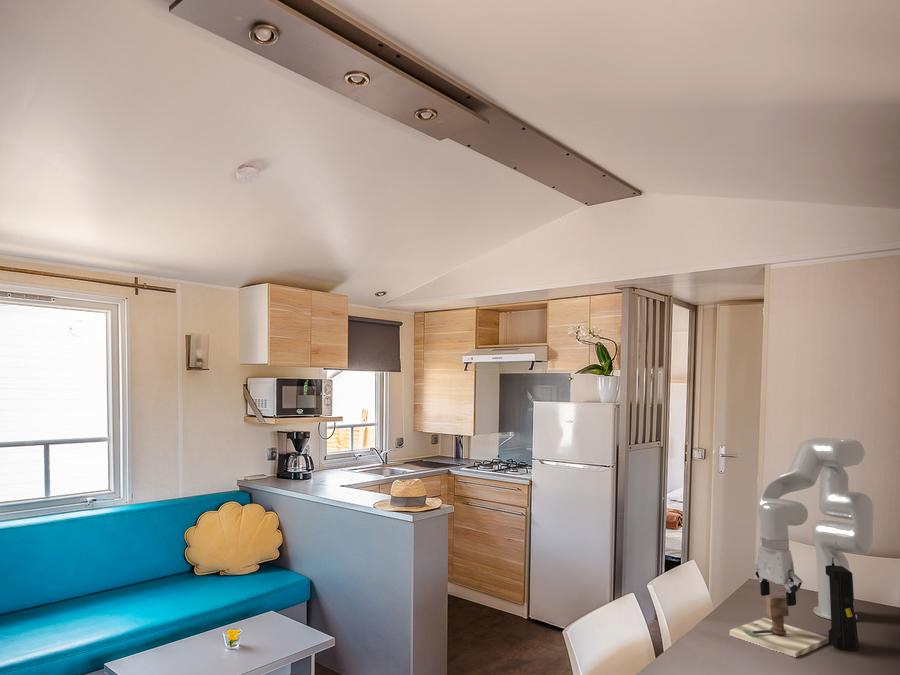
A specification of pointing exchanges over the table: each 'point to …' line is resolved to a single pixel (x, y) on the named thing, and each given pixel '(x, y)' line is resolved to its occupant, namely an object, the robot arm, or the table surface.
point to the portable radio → (842, 608)
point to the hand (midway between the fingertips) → (778, 600)
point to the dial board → (780, 638)
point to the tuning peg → (776, 614)
